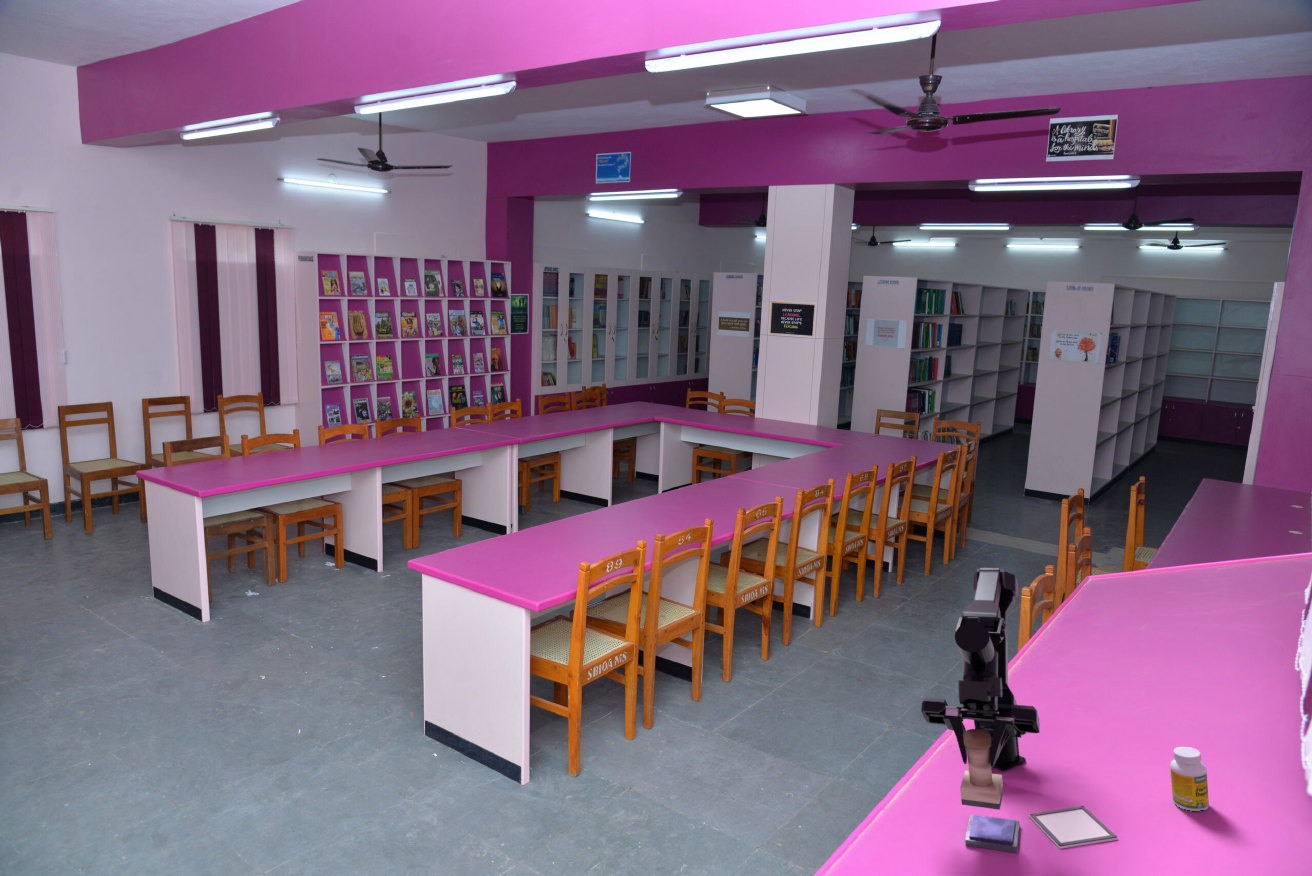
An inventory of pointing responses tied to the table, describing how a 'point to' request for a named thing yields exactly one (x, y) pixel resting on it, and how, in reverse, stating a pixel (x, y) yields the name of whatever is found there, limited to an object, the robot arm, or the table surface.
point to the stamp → (980, 773)
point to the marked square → (1072, 827)
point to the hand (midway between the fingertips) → (978, 764)
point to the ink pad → (993, 833)
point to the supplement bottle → (1189, 780)
